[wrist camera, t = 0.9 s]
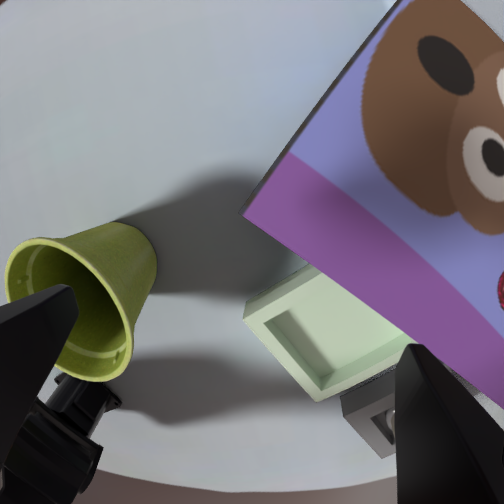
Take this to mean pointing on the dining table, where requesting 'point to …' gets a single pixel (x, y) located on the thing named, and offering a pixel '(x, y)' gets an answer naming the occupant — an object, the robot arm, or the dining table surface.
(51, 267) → the plant pot
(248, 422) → the dining table surface
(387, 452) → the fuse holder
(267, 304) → the parts tray
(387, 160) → the cereal box
